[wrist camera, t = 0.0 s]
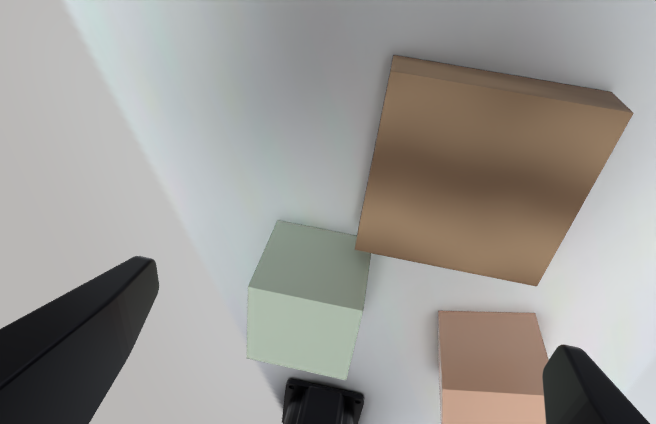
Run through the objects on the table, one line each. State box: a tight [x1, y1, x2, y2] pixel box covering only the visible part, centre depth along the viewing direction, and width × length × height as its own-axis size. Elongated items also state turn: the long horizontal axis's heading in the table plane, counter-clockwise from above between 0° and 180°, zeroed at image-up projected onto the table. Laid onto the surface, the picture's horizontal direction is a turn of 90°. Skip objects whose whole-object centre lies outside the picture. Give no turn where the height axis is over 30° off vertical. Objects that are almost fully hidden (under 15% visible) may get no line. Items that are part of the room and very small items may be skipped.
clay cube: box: [438, 311, 549, 424], centre depth 28 cm, size 6×6×6 cm
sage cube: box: [247, 220, 371, 380], centre depth 27 cm, size 6×6×6 cm
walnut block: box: [355, 55, 633, 286], centre depth 22 cm, size 10×10×2 cm
